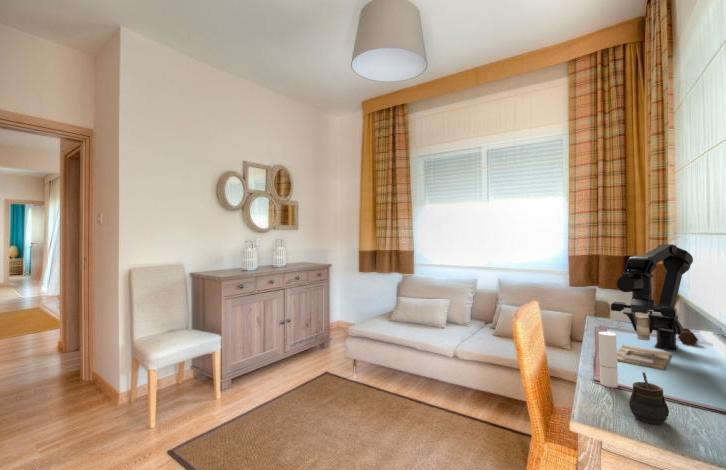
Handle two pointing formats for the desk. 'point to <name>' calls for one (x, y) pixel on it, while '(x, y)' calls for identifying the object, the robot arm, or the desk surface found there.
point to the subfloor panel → (658, 363)
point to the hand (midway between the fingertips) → (643, 332)
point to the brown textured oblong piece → (687, 337)
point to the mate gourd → (648, 402)
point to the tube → (608, 359)
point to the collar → (625, 356)
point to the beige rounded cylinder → (643, 328)
